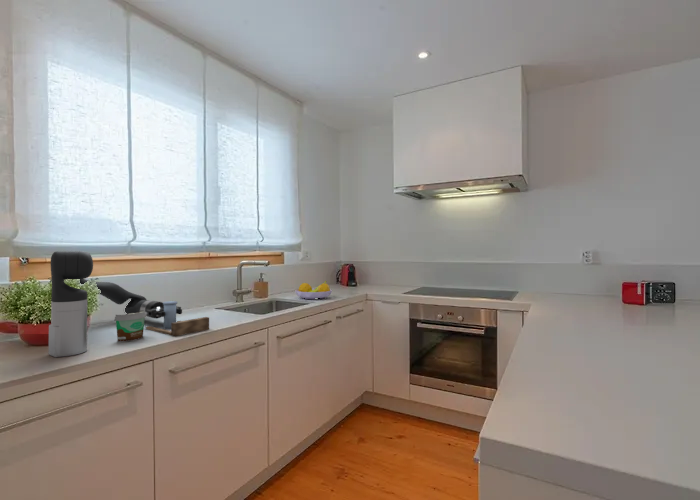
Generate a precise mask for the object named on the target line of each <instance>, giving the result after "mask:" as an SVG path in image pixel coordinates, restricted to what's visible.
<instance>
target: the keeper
mask: <svg viewBox="0 0 700 500" xmlns="http://www.w3.org/2000/svg"><path fill="white" fill-rule="evenodd" d="M162 303H163V305H164V311H165V317H163V329H164V330H167V329H171V323H174V322H177V314H176V306H177V304H178V301H176V300H175V301H173V300H172V301H171V300H170V301H162Z"/></svg>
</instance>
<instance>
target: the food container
mask: <svg viewBox="0 0 700 500" xmlns="http://www.w3.org/2000/svg"><path fill="white" fill-rule="evenodd" d="M145 318H147V315H146V312H145V310H140V312H137V313H128V314H115V316H114V322H115V325H116V326H115V327H116V338H117V342H131V341H136V340H141V339H142V338H143V337H144V329H145V328H144V327H145V321H146V320H145Z"/></svg>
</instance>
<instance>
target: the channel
mask: <svg viewBox="0 0 700 500" xmlns="http://www.w3.org/2000/svg"><path fill="white" fill-rule="evenodd" d="M145 330H148V331H153V332H156V333H161V334H164V335H166V336H167V335H168V336H172V337H179V336H183V335H188V334H193V333H197V332H202V331H208V330H210V317H209V316H205V317H197V318H192V319H188V320H187V319H186V320H176V322H174V323H171V328H170V330H167V329H165V328H160V327H154V326H151V325H149V326H145Z"/></svg>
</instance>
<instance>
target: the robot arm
mask: <svg viewBox="0 0 700 500" xmlns="http://www.w3.org/2000/svg"><path fill="white" fill-rule="evenodd" d="M93 270H94V260H93V257H92V255H91V254H90V253H89V252H87V251H82V250H81V251H80V250H79V251H78V250H75V251H73V250H71V251H69V250H63V251H62V250H60V251H59V250H58V251H54V252H53V253H52V255H51V257H50V276H51V278H50V279H51V300H50V301H51V303H50V304H51V306H50V307H51V310H50V311H51V313H50V314H51V318H50V321H51V324H49V325H48V355H50V356H51V357H54V358H60V357H68V356H69V357H70V356H75V355H79V354H83V353H85V352H87V351H88V291H86V290H85V289H81V288H76V287H74V286H70V285H69V284H67V283H66V282H65V280H68V279H80V283H81V284H84V283H85V282H87V281H89V280H88V278H89V277H90V276H91V275H92V272H93ZM95 282H96V284H97V287H98V289H100V290H101V293H100V294H99V295H100V296H103V297H105V298H107V299H108V300H109V299H110V300H109V301H111V302H113V303H115V304H116V305H123V304H125V303H126V302H127V301H128V300H129V301H130V299H131V301H130V302H129V301H128V302H129V303H128V302H127V303H128V305H127V304H126V305H127V306H126V305H125V306H126V308H125V312H126V313H127V314H128V313H137V312H140V310H145V312H146V315H147V316H146V318H147V317H148V318H152V319H160V318H164V317H165V311H164V305H163V301H157V300H148V299H147V298H146V297H145V296H142V295H141V294H140V295H139V294H137V293H133V292H130V291H128V290H126V289H125V288H123V287H122V286H120V285H119V284H116V283H114V282H111V281H110V282H108V281H95ZM125 312H124V313H125ZM182 313H183V309H182V307H181V306H178V305H176V315H182Z"/></svg>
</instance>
